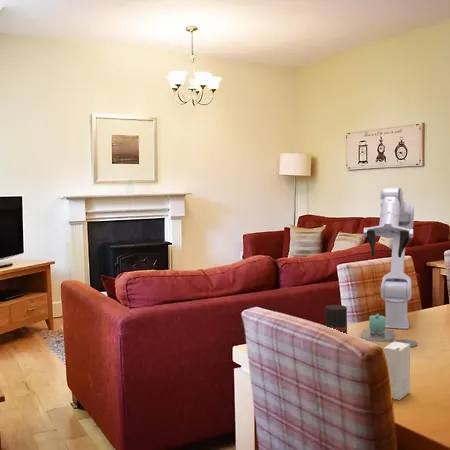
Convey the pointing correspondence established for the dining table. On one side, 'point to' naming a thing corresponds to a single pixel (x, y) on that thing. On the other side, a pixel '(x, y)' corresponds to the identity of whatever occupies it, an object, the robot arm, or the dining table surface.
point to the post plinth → (378, 335)
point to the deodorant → (337, 317)
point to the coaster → (408, 342)
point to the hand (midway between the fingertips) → (386, 254)
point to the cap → (377, 322)
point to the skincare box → (398, 368)
